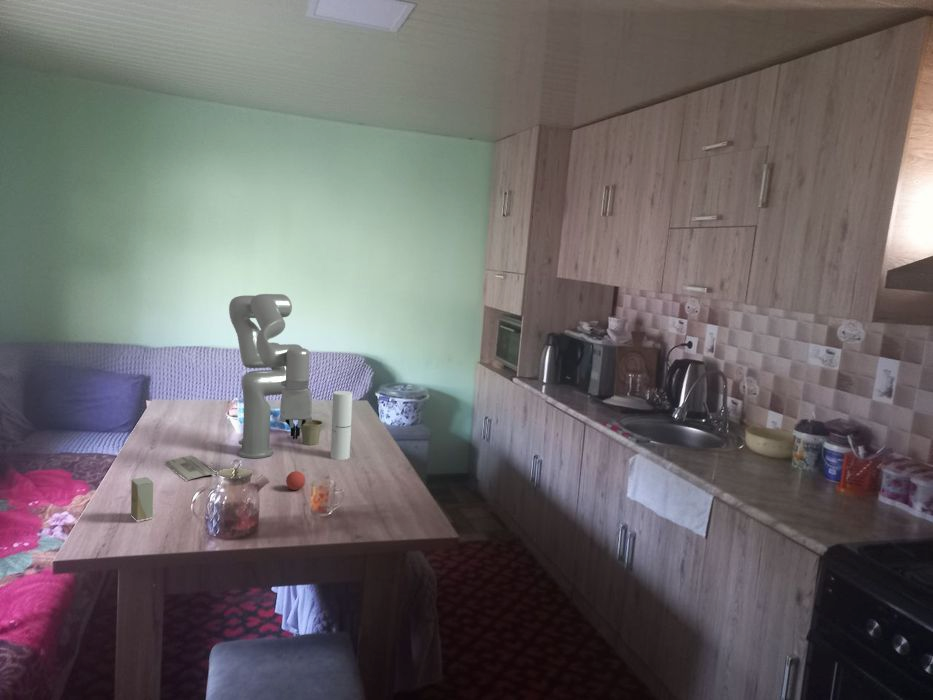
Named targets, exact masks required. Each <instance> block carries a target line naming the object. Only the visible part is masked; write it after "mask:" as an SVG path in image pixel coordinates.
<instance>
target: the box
mask: <svg viewBox="0 0 933 700" xmlns="http://www.w3.org/2000/svg"><path fill="white" fill-rule="evenodd" d="M130 484H131V489H130V490H131V493H130V495H131V497H130V499H131V503H130V516H131V515H132V516H133V517H134V518H135V519H136V520H141V519H146V518H150V517H153V515H154V514H153V512H154V482H153V481H152V480H151V479H150V478H149V477H147V476H146V477H139V478H134V479H131V483H130ZM153 518H154V517H153Z"/></svg>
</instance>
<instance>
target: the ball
mask: <svg viewBox="0 0 933 700" xmlns="http://www.w3.org/2000/svg"><path fill="white" fill-rule="evenodd" d="M285 481H286V486H287V487H288V488H289V489H290V490H293V491H298V490H301V489H302V488H303V487H304V485H305V483H306V477H305V475H304V474H303V473H302V472H301V471H298V470H295V471H291V472H290V473H289V474H288V475H287V476H286V479H285Z"/></svg>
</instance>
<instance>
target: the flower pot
mask: <svg viewBox="0 0 933 700" xmlns="http://www.w3.org/2000/svg"><path fill="white" fill-rule="evenodd" d="M323 424H324V422H323V421H321V420H319V419H312V421H310V422H306V423H304V424H303V425H302V426H301V427H300V433H301V438H302V444H303V445H305V444H306V445H305V446H313V445H315V444H316V445H318V444H319V442H320V435H321V430H322V426H323Z"/></svg>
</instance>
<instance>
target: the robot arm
mask: <svg viewBox="0 0 933 700" xmlns="http://www.w3.org/2000/svg"><path fill="white" fill-rule="evenodd" d="M292 309H293V306H292V301H291V299H290V298H289V296H287V295H285V294H283V293H259V294H257V295H239V296H234V297H233V298H232V299H231V300H230V302H229V305H228V311H229V312H228V313H229V318H230V322H231V325H232V327H233V328H234V330H235V333H236V336H237V342H238V346H239V353H240V357H241V362H242V365H243V366H244V367H245V368H247V369H259V370H252V371H248V372H247V373H245V374H244V375H243V376H242V378H241V388H242V395H243V396H242V397H243V428H242V430H243V432H242V439H241V440H238V444H239V445H241V448H240V449H239V450H238V452H237V453H238V455H239V456H240V457H243V458H247V459H263V458H268V457H270V456H272V455H273V454H274V449H273V448H272V447H270V441H271V440H270V439H271V436H270V435H271V405H270V403H269V402H268V401H267V400H266V398H265V397H268V396H275V395H277V396H278V395H281V397H280V405H279V406H280V409H279V410H280V411H279V414H280V415H279V418H278V419H279V422H282V423H286V424H287V425H288V426H289V427H290V437H292V440H298V438H299V437H300V436H301V426H302V425H303V424H304V423H306V422H310V421H312V420H313V418H312V412H313V411H312V410H313V402H312V401H313V399H312V391H311V388H309V385H310V384H309V382H310V381H309V380H310V379H309V378H310V357H311V356H310V351H309V350H308V349H307V348H304V347H302V346H301V345H300V344H295V343H294V344H293V343H292V344H291V343H290V344H280V343H278V342H269V340H271V339H273V338H275V337H278V336H279V335H280V334H281V333H283V332H284V330H285V328H286V322H285V320H284V318H286V317H289V316H290V315H291V313H292ZM251 319H255V320H256V322H257V324H258V326H259V327H258V326H257V324H256V323H254V321H252V320H251ZM266 368H270V369H266ZM260 369H261V370H260ZM263 369H265V370H263ZM294 420H296V421H297V423H296V426H295V423H294Z"/></svg>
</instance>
